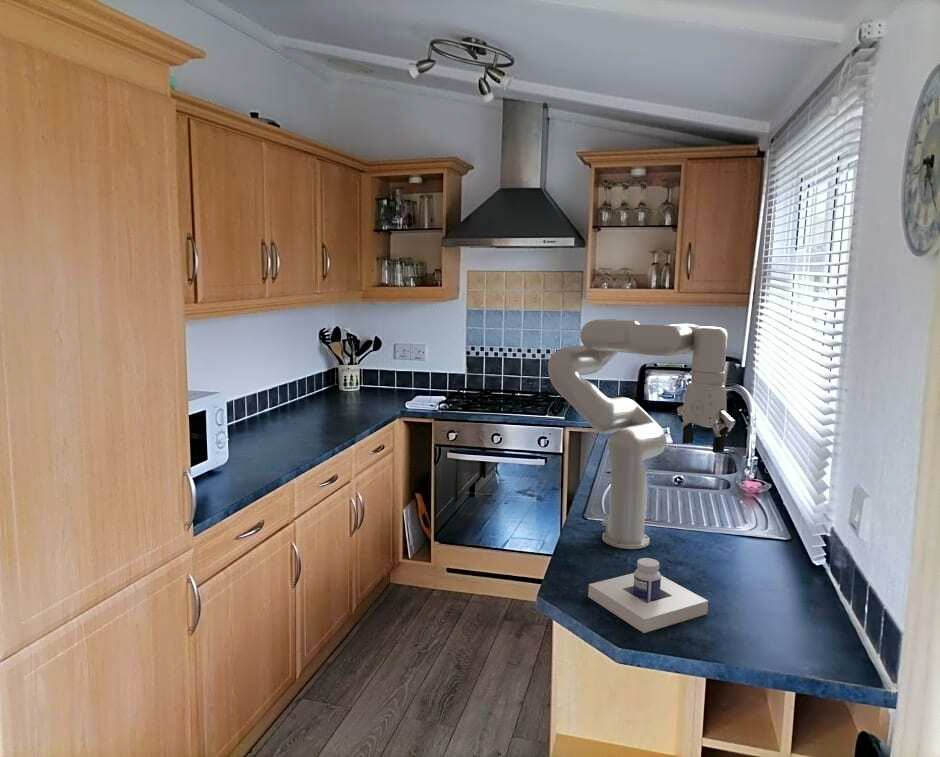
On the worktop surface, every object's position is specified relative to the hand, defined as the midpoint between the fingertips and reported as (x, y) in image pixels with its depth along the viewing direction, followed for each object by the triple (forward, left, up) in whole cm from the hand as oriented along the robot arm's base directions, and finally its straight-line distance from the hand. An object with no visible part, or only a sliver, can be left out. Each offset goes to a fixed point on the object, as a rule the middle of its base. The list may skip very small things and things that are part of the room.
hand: (702, 447), depth 173 cm
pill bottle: (+11, -26, -31) cm, 41 cm away
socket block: (+11, -26, -30) cm, 41 cm away
